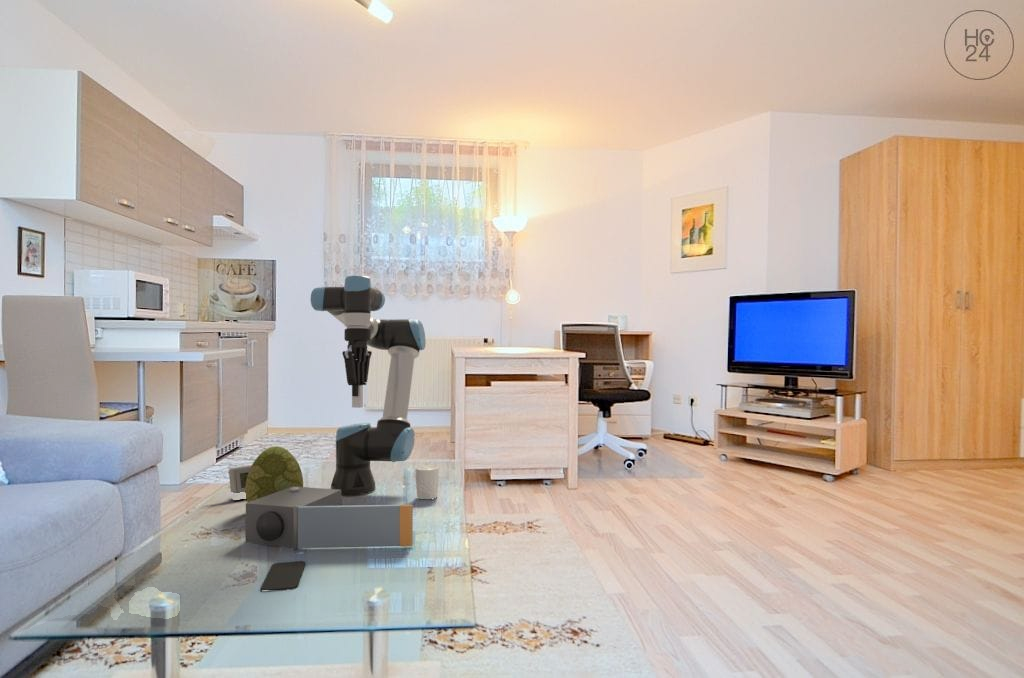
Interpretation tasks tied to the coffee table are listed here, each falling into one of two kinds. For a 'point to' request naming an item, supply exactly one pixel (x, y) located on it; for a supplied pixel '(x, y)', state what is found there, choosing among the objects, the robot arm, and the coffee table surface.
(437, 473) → the white cup
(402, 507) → the side door
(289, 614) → the coffee table surface
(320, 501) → the camera body
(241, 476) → the digital clock
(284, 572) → the phone
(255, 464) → the decorative sculpture
